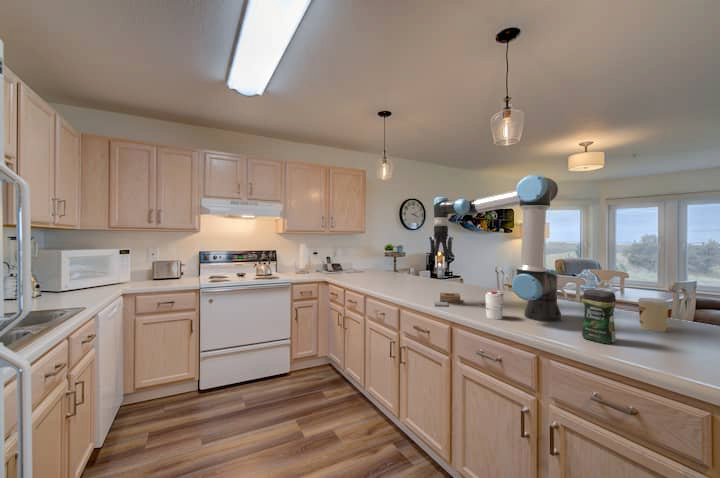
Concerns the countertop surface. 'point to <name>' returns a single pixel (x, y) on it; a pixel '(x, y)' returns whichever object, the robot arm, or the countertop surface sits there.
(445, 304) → the rest mat
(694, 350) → the countertop surface
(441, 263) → the gold and silver cylinder
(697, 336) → the countertop surface
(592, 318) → the coffee jar
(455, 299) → the socket block
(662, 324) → the coffee cup
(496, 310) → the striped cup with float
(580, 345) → the countertop surface
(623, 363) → the countertop surface
